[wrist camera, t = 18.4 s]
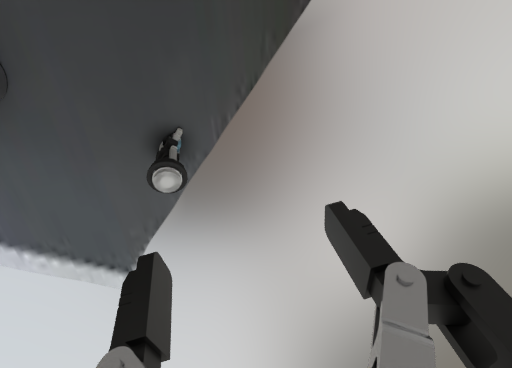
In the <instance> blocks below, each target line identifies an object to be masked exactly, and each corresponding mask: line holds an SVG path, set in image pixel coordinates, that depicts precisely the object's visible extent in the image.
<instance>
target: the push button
mask: <svg viewBox="0 0 512 368" xmlns="http://www.w3.org/2000/svg"><path fill="white" fill-rule="evenodd" d="M179 130H180V131H179ZM182 131H183V130H182V129H180V128H178V129H177V131H176V133H174V134H173V135H172V134H171V135H170V136H168V138H167V140H166V143H165V145H164V146H163V145H162V144H163V141H162V143H161V144H160V146H159V151H158V153H157V155H156V161H155V162H154V163H153V164H152V165H151V167H150V168H149V170H148V172H147V181H148V183H149V185H150V186H151V187H152V188H153V189H154V190H156V191H158V192H161V193H174V192H177V191H179V190H181V189H182V188H183V187H184V186H185V185H186V183H187V172H186V170H185V168H184V166H183V165H182V164H181V163H179V153H180V147H181V138H180V137H181V135H182V134H183V132H182ZM154 170H155V173H154V174H153V171H154ZM181 173H182V176H181Z"/></svg>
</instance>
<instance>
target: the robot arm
mask: <svg viewBox="0 0 512 368" xmlns="http://www.w3.org/2000/svg"><path fill="white" fill-rule="evenodd" d="M6 90H7V79H6V76H5V73H4V70H3V68H2V67H1V65H0V100H1V99H2V98H3V97H4V95H5V93H6ZM325 231H326V234H327V237H328V239H329V241H330V242H331V244H332V246H333V247H334V249H335V251H336V253H337V254H338V256H339V258H340V259H341V261H342V263H343V265H344V266H345V268H346V270H347V271H348V273H349V275H350V276H351V278H352V280H353V282H354V283H355V285H356V287H357V288H358V290H359V292H360V294H361V295H362V297H363V299H367V298H370V297H372V298H373V300H374V301H375V303H376V306H375V316H374V326H373V334H372V344H371V352H370V357H369V364H368V368H436V366H435V348H434V342H433V340H432V338H430V336H429V332H428V324H437V326H438V327H439V329H440V330H441V332H442V333H443V334H444V336H445V337H446V339H447V340H448V342H449V343H450V345H451V346H452V348H453V349H454V350H455V352H456V353H457V355H458V356H459V358H460V359H461V361H462V362H463V363H464V365H465V366H466V368H512V298H511V297H510V296H509V295H508V294H507V293H506V292H505V291H504V290H503V289H502V288H501V287H500V286H499V284H497V283H496V281H495V280H494V279H493V278H492V277H491V276H490V275H489V274H487V273H486V272H485V271H484V270H482V269H480V268H479V267H477V266H474V265H471V264H467V263H457V264H454V265H452V266H451V267H450V268H449V270H448V271H423V270H419V269H417V268H416V267H415V266H413V265H411V264H408V263H405V262H403V261H402V260H401V259H400V257H399V256H398V255H397V254H396V253H395V251H394V250H393V249H392V248H391V246H390V245H389V244H388V243H387V241H386V240H385V239H384V238H383V236H382V235H381V234H380V233H379V232H378V230H377V229H376V228H375V227H374V225H372V223H371V222H370V220H369V219H368V218H367V217H366V216H365V215H364V214H363V213H361V212H359V211H358V210H356V209H352V210H349V209H348V208H347V207H346V205H345V204H344V203H343V202H342V201H339V202H336V203H332V204H328V205H326V206H325ZM171 307H172V277H171V273H170V271H169V269H168V267H167V266H166V264H165V263H164V261H163V259H162V258H161V256H160V255H159V253H158V252H154V253H150V254H147V255H143V256H140V257H139V258H138V262H137V268H136V270H134V271H131V272H129V274H128V275H127V277H126V279H125V281H124V282H123V285H122V290H121V298H120V300H119V308H118V310H117V316H116V321H115V326H114V331H113V336H112V341H111V346H110V349H109V352H108V353H107V354H106V355H105V356H104V357H103V358H102V360H101V361H100V362H99V364H98V365H97V367H96V368H161V362H163V361H167V360H170V341H171V339H170V338H171Z"/></svg>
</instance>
